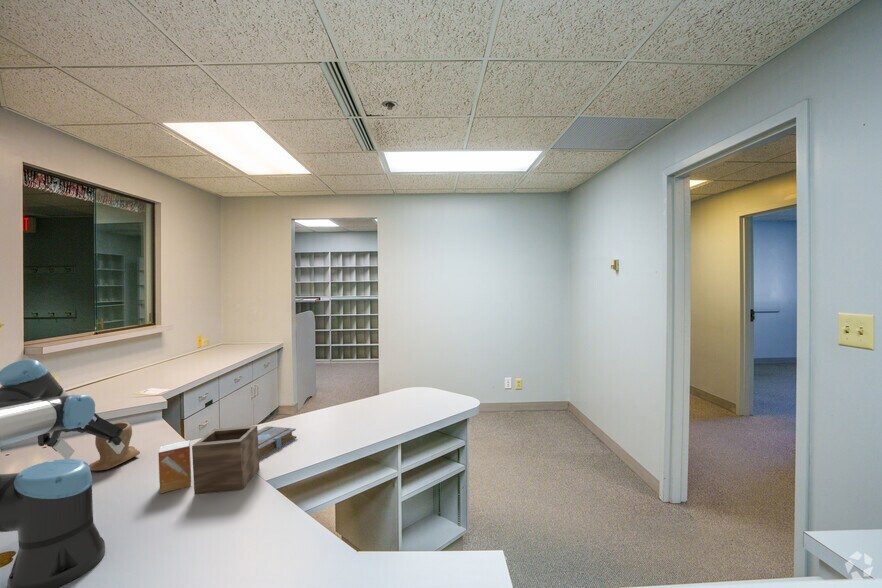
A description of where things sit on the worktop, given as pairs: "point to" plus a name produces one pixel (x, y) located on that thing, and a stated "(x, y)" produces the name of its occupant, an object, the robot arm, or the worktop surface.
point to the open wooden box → (225, 459)
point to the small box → (174, 466)
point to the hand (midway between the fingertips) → (96, 452)
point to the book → (273, 439)
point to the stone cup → (108, 454)
